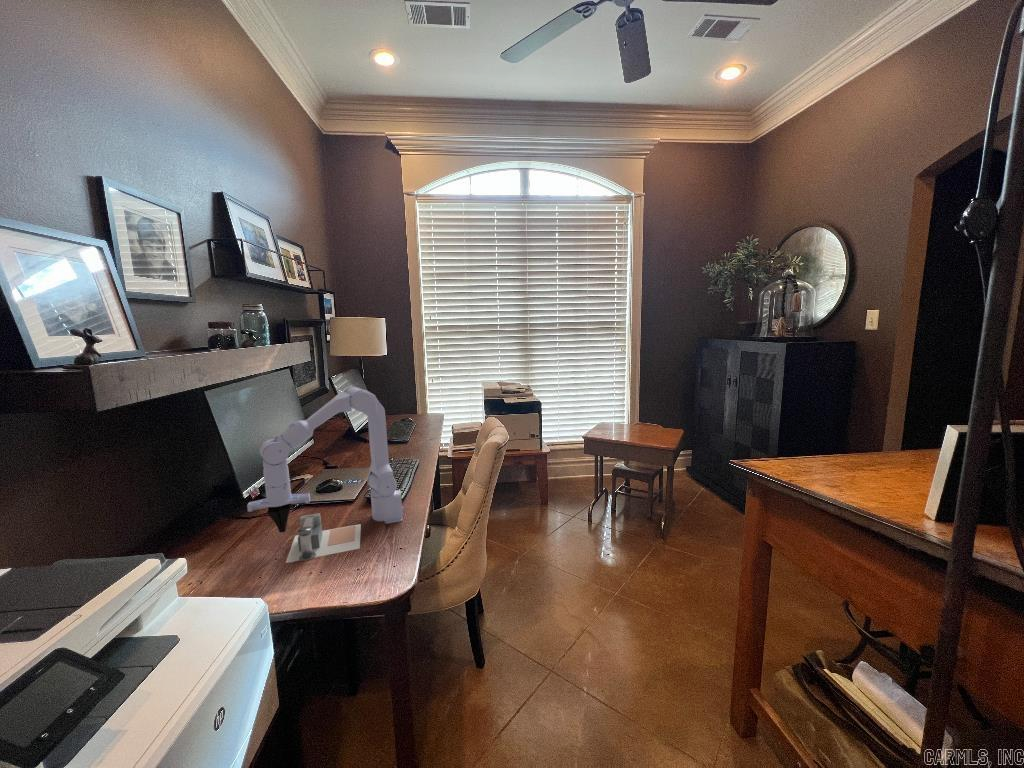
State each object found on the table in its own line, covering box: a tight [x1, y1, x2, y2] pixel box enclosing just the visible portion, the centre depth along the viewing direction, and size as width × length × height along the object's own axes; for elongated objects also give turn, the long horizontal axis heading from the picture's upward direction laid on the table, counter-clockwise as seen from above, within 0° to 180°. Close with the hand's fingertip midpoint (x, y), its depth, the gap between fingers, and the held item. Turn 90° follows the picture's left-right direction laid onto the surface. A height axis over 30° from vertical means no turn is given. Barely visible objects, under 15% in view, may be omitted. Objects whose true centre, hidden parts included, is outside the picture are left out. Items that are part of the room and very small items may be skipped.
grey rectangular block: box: [298, 522, 323, 551], centre depth 108 cm, size 5×7×4 cm
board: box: [285, 523, 362, 564], centre depth 108 cm, size 18×15×1 cm
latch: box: [297, 512, 322, 558], centre depth 105 cm, size 5×12×8 cm, turn 20°
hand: (283, 530), depth 105 cm, fingers closed
